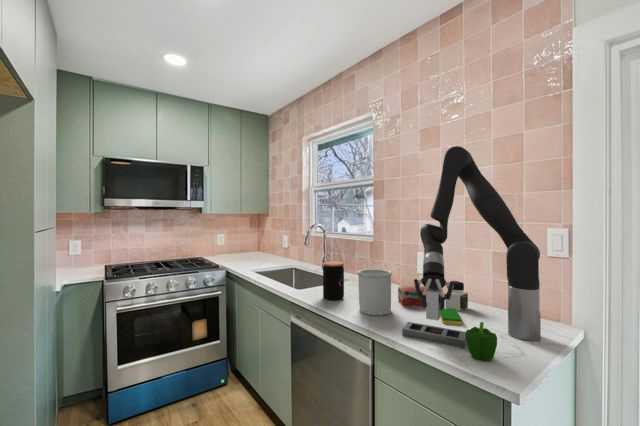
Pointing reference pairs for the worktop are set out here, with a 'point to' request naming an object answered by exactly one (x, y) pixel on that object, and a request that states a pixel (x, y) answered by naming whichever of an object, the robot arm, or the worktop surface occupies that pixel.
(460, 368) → the worktop surface
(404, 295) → the medicine box
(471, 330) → the bell pepper
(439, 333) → the peg hole block
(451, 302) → the medicine bottle
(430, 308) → the steel peg
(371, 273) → the utensil holder
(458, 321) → the dish sponge
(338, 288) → the coffee jar
